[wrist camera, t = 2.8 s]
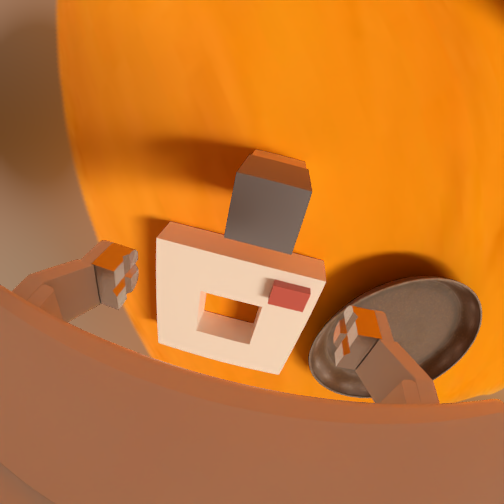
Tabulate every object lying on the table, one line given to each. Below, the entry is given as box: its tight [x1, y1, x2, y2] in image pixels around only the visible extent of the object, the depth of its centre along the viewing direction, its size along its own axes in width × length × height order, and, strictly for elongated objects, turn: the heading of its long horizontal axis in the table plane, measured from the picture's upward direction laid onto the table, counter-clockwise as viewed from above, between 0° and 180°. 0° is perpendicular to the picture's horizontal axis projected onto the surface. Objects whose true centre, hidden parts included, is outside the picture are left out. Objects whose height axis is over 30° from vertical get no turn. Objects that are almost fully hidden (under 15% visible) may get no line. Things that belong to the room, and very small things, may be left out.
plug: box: [224, 149, 312, 255], centre depth 18 cm, size 4×4×7 cm
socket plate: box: [156, 221, 326, 375], centre depth 26 cm, size 14×14×4 cm
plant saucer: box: [309, 276, 482, 398], centre depth 27 cm, size 21×21×3 cm
